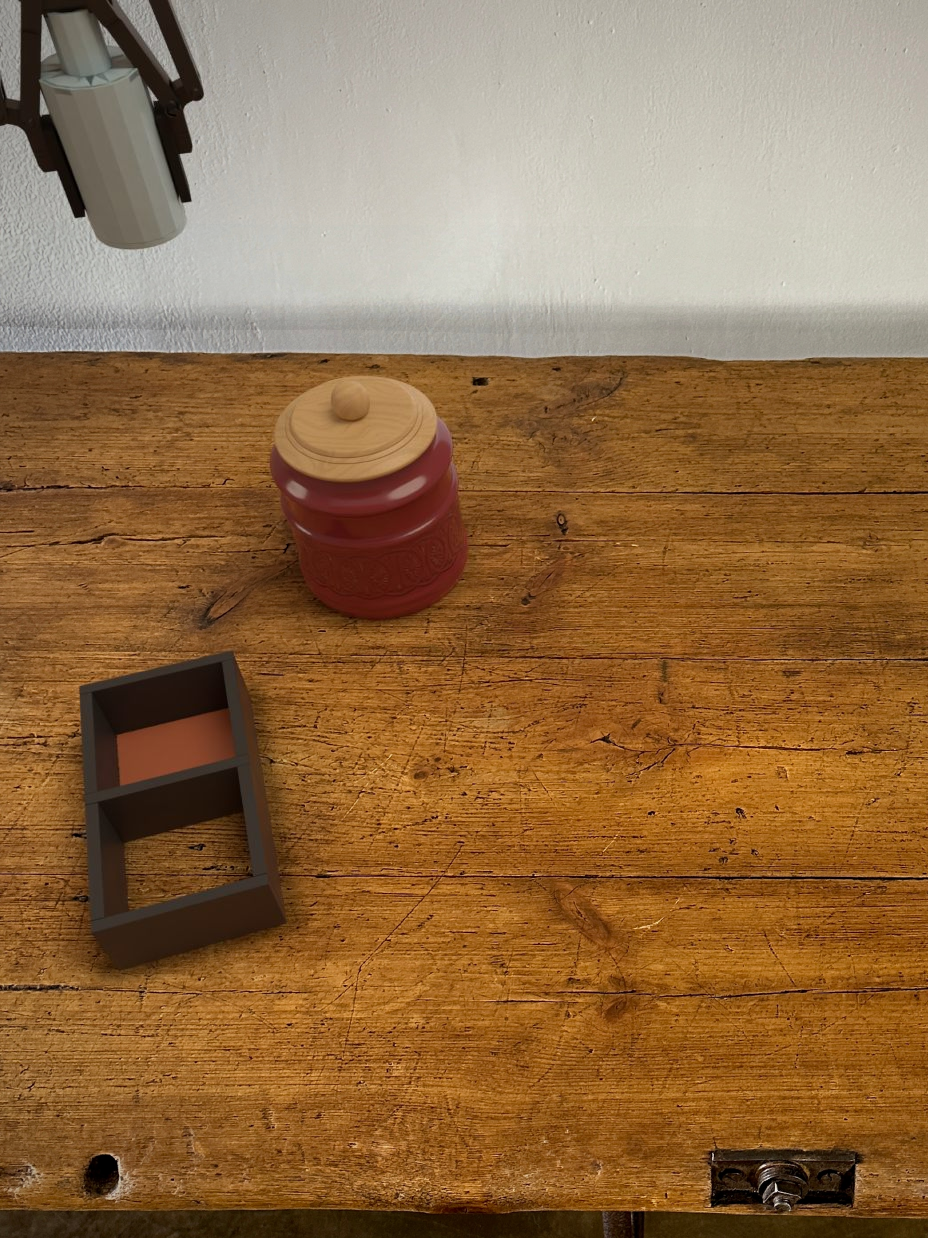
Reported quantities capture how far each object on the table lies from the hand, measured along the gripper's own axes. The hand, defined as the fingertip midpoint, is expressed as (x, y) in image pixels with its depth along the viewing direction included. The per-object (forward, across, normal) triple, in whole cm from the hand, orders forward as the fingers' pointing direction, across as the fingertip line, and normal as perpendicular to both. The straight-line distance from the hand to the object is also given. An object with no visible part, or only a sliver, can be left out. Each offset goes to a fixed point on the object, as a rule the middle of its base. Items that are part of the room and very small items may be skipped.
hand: (132, 200), depth 91 cm
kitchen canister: (+21, +12, -24) cm, 33 cm away
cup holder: (+20, -5, -43) cm, 48 cm away
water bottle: (+2, 0, 0) cm, 2 cm away
